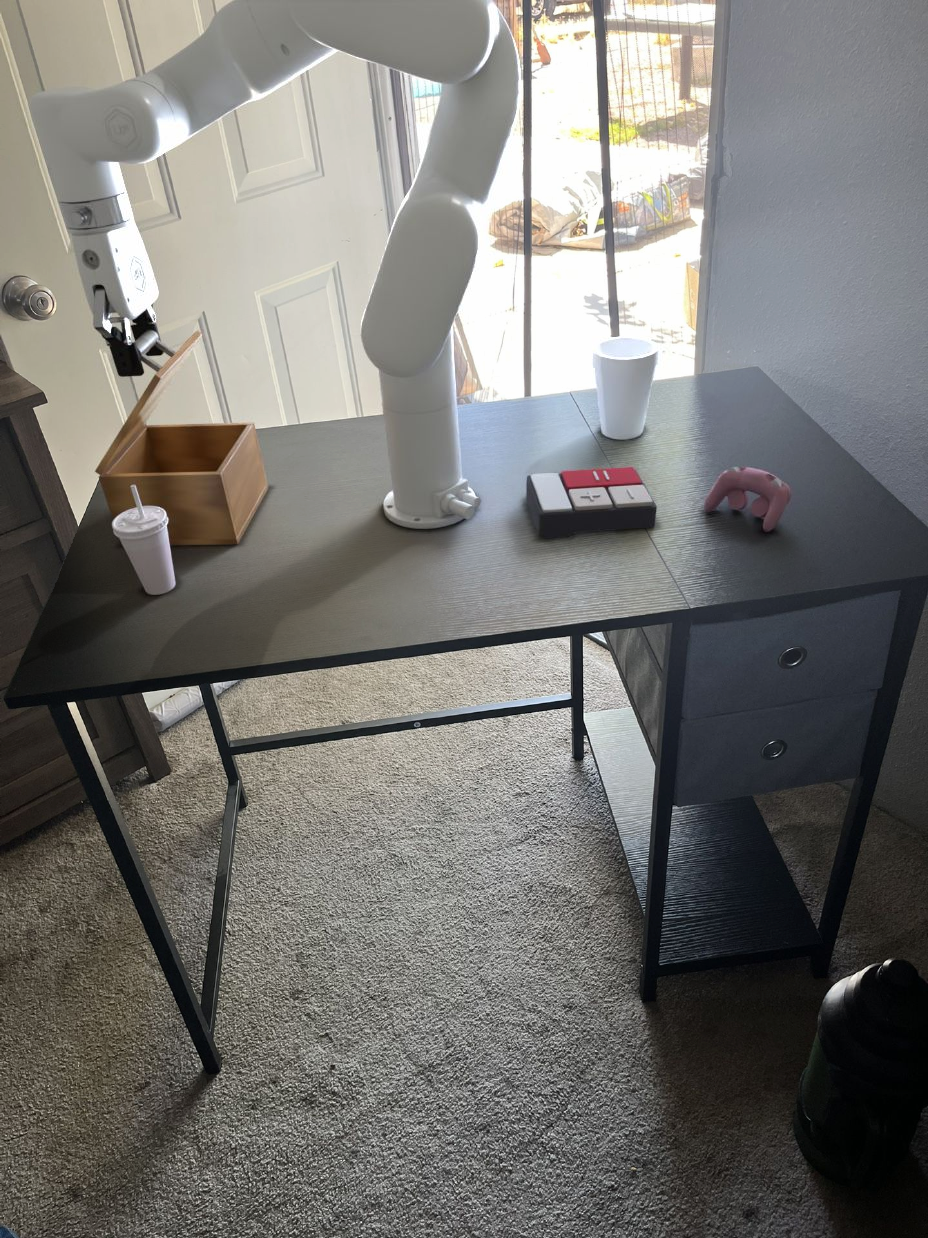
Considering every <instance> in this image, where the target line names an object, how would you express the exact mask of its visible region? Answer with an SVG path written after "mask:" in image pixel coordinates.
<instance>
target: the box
mask: <svg viewBox="0 0 928 1238" xmlns="http://www.w3.org/2000/svg"><path fill="white" fill-rule="evenodd" d="M98 480H99V482H100V485H101V488H102V491H103V494H104V495H103V496H104V498H105V500H106V504H107V507H108V510H109V512H110V515H111V518H112V521H113V520H114V519H115V518H116V517H117V516H118V515H119V514H121V513H123V512H125V511H127V510H129V509H132V508H136V507H137V506H136V502H135V499H134V496H133V493H132V490H131V487H130V486H131V485H135V486H136V489H137V492H138V495H139V499H140V502H141V505H142V506H156V507H160V508H162V509H164V510H165V512H166V514H167V517H168V524H167V530H168V537H169V544H170V546H212V545H213V546H217V545H220V546H221V545H239V543H240V541H241V539H242V538H243V536H244V534H245V532H246V530H247V528H248V526H249V525H250V523H251V521H252V519H253V517H254V516H255V514H256V512H257V510H258V508H259V506H260V504H261V503H262V501H263V499H264V497H265V495H266V494H267V491H268V489H269V485H268V480H267V475H266V471H265V465H264V463H263V457H262V453H261V447H260V444H259V438H258V435H257V430H256V425H255V422H254V421H252V422H251V421H250V422H224V423H223V422H220V423H219V422H218V423H217V422H216V423H214V422H213V423H186V424H185V423H183V424H177V423H176V424H147V425H146V424H145V425H144V426H143V427H142V428H141V429H140V430H139V431H138V433H137V434H136V435H135V436H134V437H133V438H132V439H131V441H130V442H129V443H128V444H127V445H126V446H125V447H124V449H123V450H122V451H121V452H120V453H119V454H118V455H117V457H116V458H115V459H114V460H113V461H112V462H111V463H110V465H109V466H108V467H107V468H106V469H105V470H104V471H103V473H102V474H101V475H98ZM118 540H119V542H120V545H121V546H122V547H123V545H122V543H121V541H120V538H119V537H118Z"/></svg>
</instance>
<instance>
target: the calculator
mask: <svg viewBox="0 0 928 1238" xmlns="http://www.w3.org/2000/svg"><path fill="white" fill-rule="evenodd" d="M525 487H526V488H525V489H526V490H525V491H526V493H525V500H526V503H527V506H528V509H529V512H530V515H531V518H532V521H533V524H534V526H535V530H536V533H537V535H538V538H540V539H542V540H543V539H556V538H569V537H570V536H572V535H574V534H575V533H585V532H587V533H588V532H599V531H601V532H602V531H615V530H629V529H630V530H631V529H645V528H647V529H648V528H654V527H655V525H656V524H655V523H656V518H657V510H658V509H657V508H658V506H657V504H656V502H655V501H654V498H653V497H652V495H651V493H650V492H649V490H648V488H647V487H646V485H645V483H644V481H643V480H642V478H641V476H640V474H639V473H638V471H637V469H635V467H634V466H622V467H607V468H590V469H575V470H562V471H561V472H559V473H558V472H547V473H546V472H545V473H532V474H530V475H527V476H526V486H525Z"/></svg>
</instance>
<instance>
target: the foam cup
mask: <svg viewBox="0 0 928 1238" xmlns="http://www.w3.org/2000/svg"><path fill="white" fill-rule="evenodd" d="M591 357H592V358H591V360H592V361H591V362H592V363H591V364H592V368H593V370H594V377H595V385H596V386H595V387H596V394H597V405H598V413H599V421H600V422H599V423H600V428H601V434H602V435H603V436H605V437H606V438H610V439H613V440H630V439H635V438H637V437H639V436H641V435H642V433H643V432H644V428H645V423H646V419H647V413H648V408H649V403H650V398H651V392H652V388H653V381H654V377H655V372H656V368H657V366H658V360H659V359H658V358H659V347H658V344H657V343H656V342H655V341H653V340H651V339H649V338H644V337H640V336H639V337H638V336H616V337H608V338H605V339H602V340H599V341H597V342H596V343H595V344H594V345H592V356H591Z"/></svg>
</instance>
